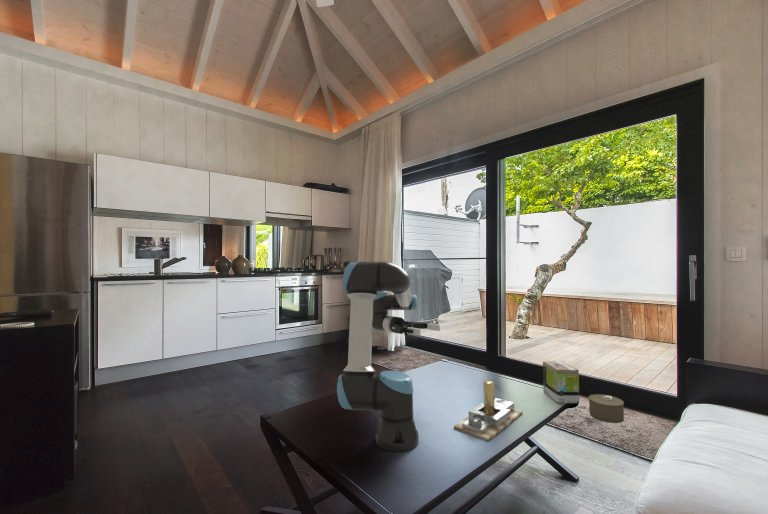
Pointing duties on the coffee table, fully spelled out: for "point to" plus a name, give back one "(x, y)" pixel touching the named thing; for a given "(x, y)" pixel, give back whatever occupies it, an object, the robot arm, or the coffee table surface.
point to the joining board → (493, 430)
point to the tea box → (561, 381)
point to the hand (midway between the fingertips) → (430, 330)
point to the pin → (489, 398)
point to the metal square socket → (488, 416)
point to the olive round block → (606, 408)
